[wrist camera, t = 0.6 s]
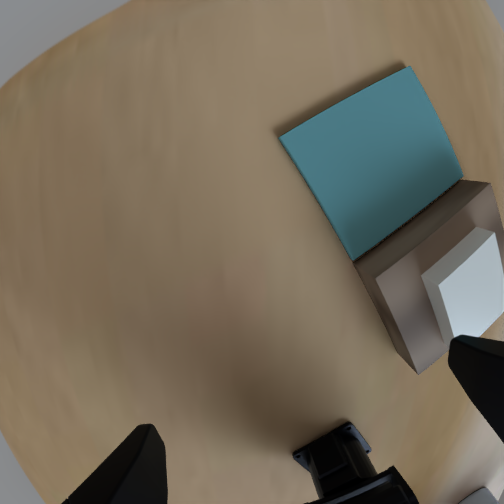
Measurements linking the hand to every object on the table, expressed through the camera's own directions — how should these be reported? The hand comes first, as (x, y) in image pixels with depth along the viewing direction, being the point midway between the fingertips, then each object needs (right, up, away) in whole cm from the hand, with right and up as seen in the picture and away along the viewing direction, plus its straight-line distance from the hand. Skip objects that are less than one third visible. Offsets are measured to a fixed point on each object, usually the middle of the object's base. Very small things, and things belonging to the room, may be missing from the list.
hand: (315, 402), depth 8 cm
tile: (+14, +1, +12) cm, 18 cm away
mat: (+8, +11, +12) cm, 18 cm away
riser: (+13, +3, +15) cm, 20 cm away
